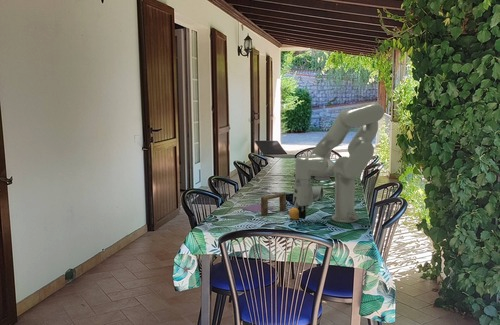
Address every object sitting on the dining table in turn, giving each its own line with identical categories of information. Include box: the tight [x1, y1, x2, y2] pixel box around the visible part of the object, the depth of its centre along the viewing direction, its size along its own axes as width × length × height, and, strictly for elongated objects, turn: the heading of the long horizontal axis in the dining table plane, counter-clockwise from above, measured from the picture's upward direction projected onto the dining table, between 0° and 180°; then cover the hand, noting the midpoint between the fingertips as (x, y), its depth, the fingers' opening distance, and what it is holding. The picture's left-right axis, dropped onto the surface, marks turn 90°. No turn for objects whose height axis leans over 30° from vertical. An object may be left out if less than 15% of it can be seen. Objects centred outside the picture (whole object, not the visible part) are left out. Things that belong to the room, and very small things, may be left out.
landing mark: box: [241, 203, 274, 213], centre depth 249 cm, size 13×13×1 cm
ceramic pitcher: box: [311, 149, 335, 182], centre depth 326 cm, size 22×20×25 cm
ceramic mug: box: [312, 186, 324, 202], centre depth 267 cm, size 11×8×8 cm
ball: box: [288, 207, 300, 220], centre depth 226 cm, size 6×6×6 cm
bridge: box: [260, 192, 287, 217], centre depth 238 cm, size 3×15×10 cm, turn 128°
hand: (302, 218), depth 221 cm, fingers closed
